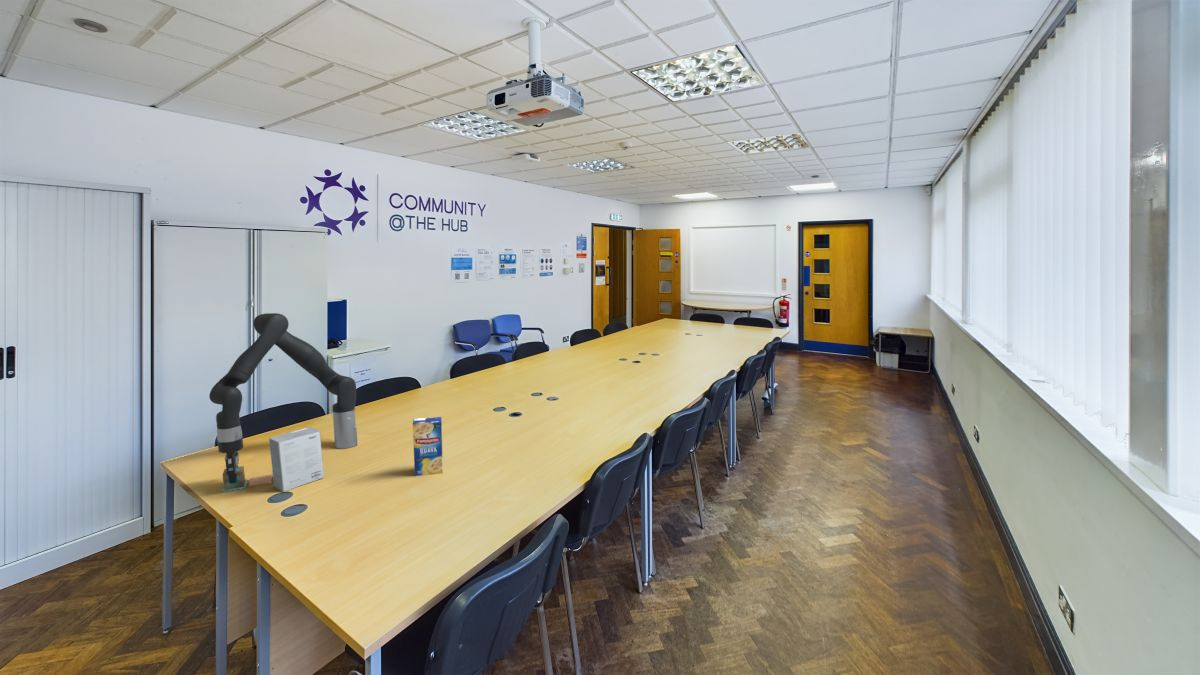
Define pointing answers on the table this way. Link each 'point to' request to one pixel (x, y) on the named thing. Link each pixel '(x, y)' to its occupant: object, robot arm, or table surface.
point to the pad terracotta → (260, 480)
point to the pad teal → (235, 488)
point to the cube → (239, 477)
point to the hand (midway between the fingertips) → (234, 478)
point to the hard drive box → (296, 458)
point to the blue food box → (427, 446)
